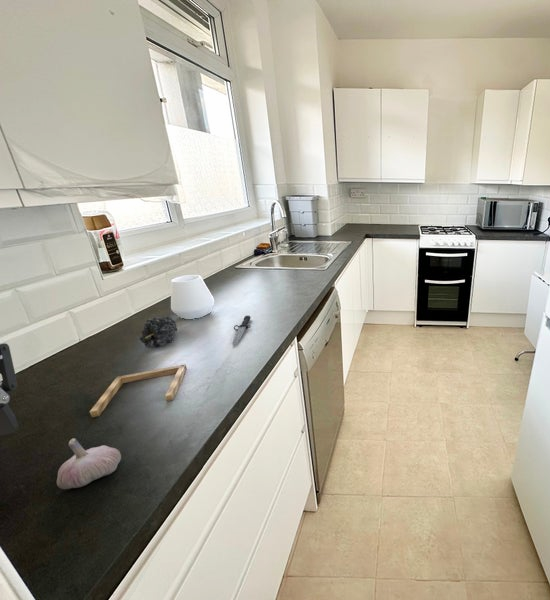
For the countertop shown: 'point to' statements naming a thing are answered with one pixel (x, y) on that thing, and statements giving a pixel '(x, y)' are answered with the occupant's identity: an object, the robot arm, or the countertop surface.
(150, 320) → the fruit
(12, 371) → the robot arm
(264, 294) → the countertop surface
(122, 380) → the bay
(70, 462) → the garlic bulb
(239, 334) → the knife
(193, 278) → the white tapered hollow cylinder
